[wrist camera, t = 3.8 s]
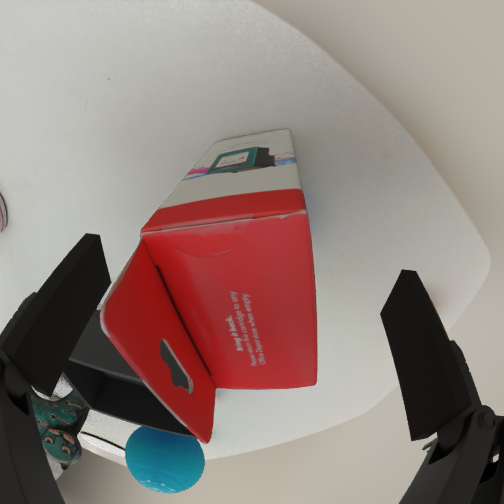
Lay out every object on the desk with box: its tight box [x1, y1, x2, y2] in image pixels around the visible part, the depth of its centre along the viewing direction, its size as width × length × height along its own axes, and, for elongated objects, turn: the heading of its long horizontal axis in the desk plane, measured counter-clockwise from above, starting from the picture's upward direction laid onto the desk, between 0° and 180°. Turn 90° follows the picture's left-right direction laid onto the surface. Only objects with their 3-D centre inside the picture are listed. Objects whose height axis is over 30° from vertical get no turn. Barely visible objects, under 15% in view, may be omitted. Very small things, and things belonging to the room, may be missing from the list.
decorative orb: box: [125, 426, 205, 493], centre depth 41 cm, size 15×15×15 cm
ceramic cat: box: [27, 383, 90, 470], centre depth 33 cm, size 20×6×20 cm, turn 75°
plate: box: [80, 433, 125, 457], centre depth 75 cm, size 21×21×1 cm
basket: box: [62, 310, 198, 439], centre depth 30 cm, size 18×16×7 cm
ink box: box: [100, 129, 317, 444], centre depth 13 cm, size 8×5×15 cm, turn 11°
